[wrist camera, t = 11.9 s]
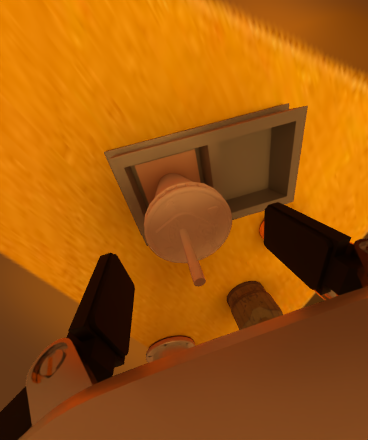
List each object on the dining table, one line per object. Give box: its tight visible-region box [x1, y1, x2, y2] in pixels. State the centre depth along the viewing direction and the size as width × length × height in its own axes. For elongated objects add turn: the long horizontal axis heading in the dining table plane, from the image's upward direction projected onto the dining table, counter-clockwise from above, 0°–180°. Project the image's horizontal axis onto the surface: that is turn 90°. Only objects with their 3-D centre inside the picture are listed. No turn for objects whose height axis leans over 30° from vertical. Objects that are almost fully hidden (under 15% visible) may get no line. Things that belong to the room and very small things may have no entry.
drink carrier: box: [104, 103, 308, 246], centre depth 18 cm, size 11×21×4 cm, turn 103°
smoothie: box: [144, 173, 232, 286], centre depth 13 cm, size 6×6×14 cm
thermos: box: [227, 281, 283, 330], centre depth 20 cm, size 9×12×35 cm
